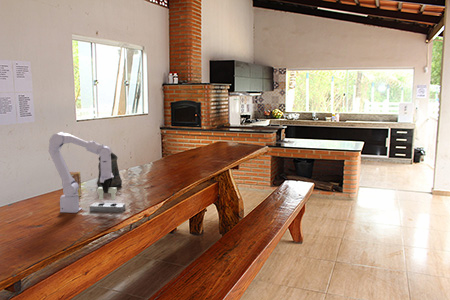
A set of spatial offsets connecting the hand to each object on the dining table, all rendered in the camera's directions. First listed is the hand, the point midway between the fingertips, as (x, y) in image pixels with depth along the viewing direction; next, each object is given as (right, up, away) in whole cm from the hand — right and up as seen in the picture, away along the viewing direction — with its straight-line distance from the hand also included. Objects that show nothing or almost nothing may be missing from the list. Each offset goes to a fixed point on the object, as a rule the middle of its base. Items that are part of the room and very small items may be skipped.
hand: (107, 192), depth 223 cm
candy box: (-29, -6, +28) cm, 41 cm away
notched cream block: (0, -4, +1) cm, 4 cm away
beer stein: (-13, -2, +50) cm, 52 cm away
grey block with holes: (0, -10, +2) cm, 10 cm away
